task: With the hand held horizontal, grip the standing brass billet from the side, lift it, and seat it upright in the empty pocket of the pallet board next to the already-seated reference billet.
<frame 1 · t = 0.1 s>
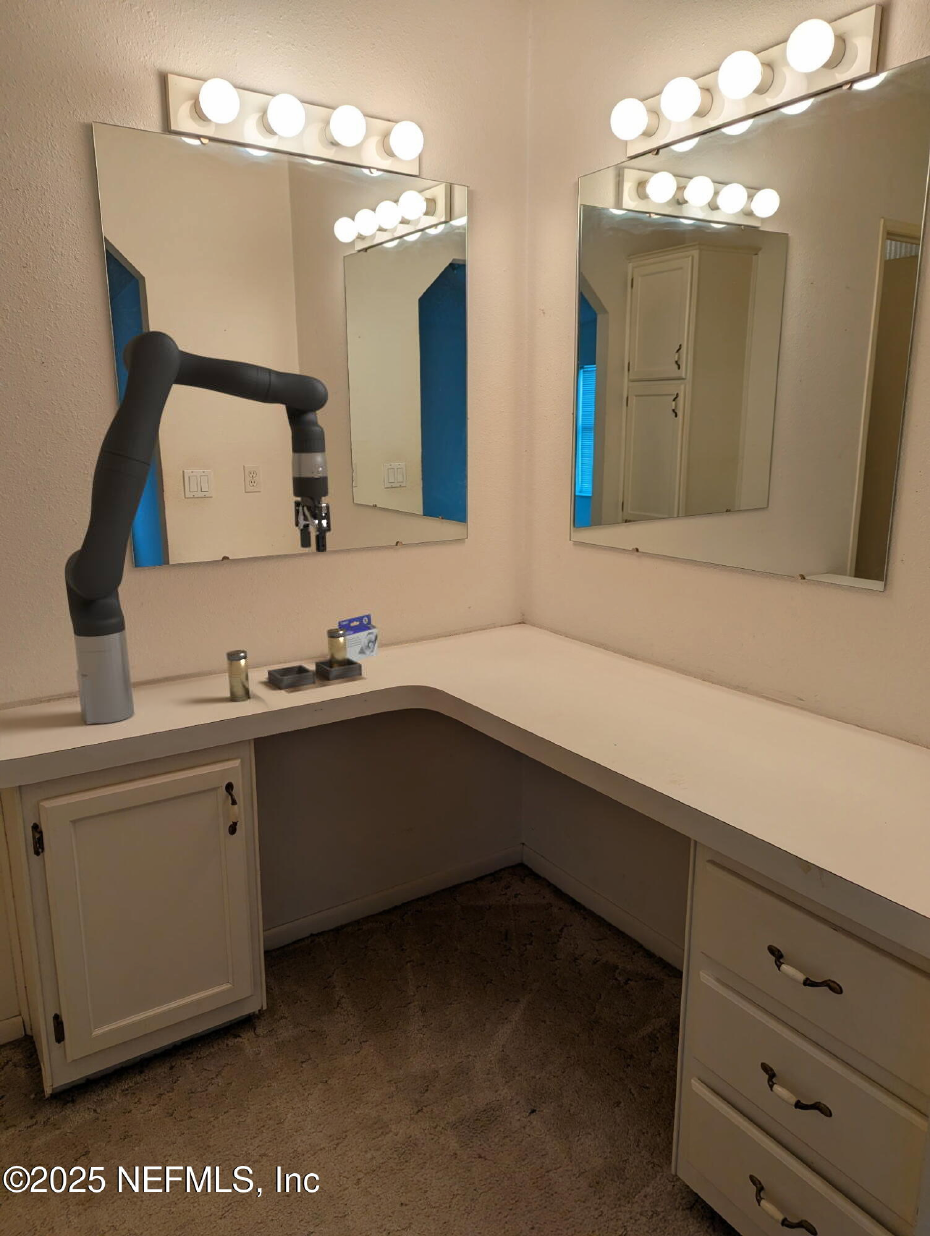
hand: (313, 549, 185), 29 cm above the vanity counter, tool pointing down, fingers open, 8 cm apart
ink box: (359, 666, 202), on the vanity counter
reference billet: (338, 674, 188), resting on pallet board
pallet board: (316, 684, 186), on the vanity counter
billet: (240, 698, 177), on the vanity counter
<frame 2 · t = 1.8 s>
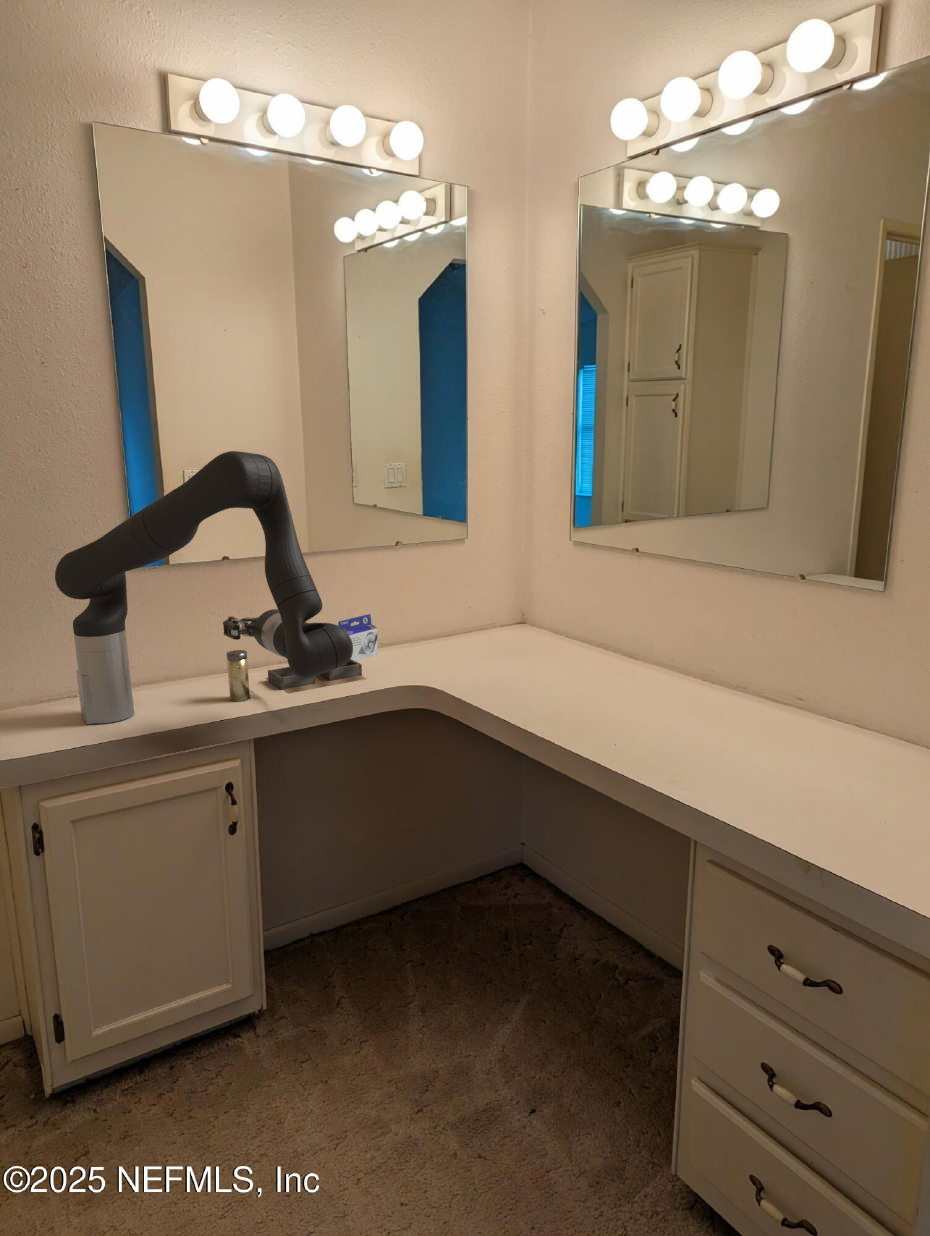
hand: (251, 618, 164), 19 cm above the vanity counter, tool horizontal, fingers open, 8 cm apart
nothing on the vanity counter moved.
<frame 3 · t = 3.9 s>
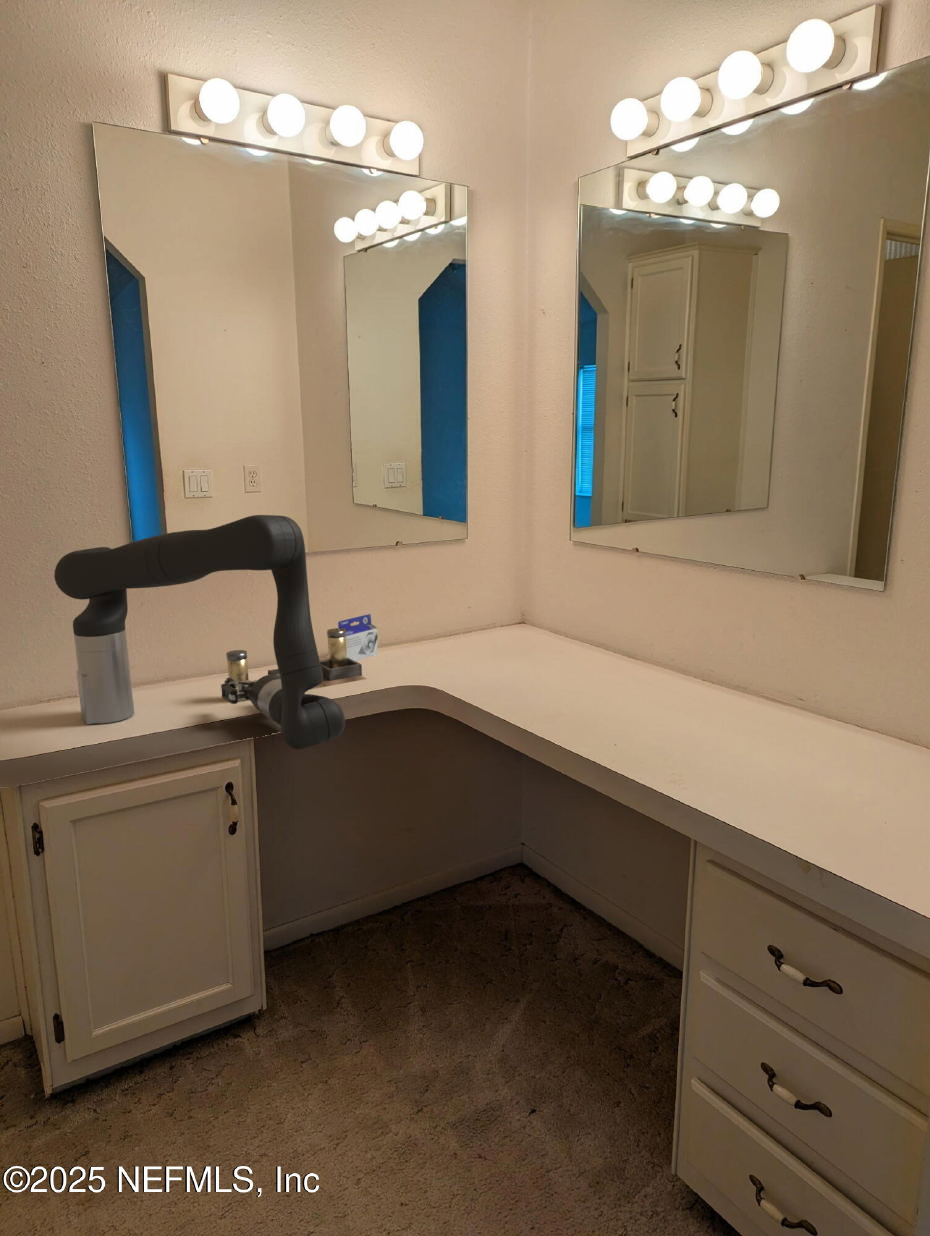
hand: (249, 679, 170), 6 cm above the vanity counter, tool horizontal, fingers open, 8 cm apart
nothing on the vanity counter moved.
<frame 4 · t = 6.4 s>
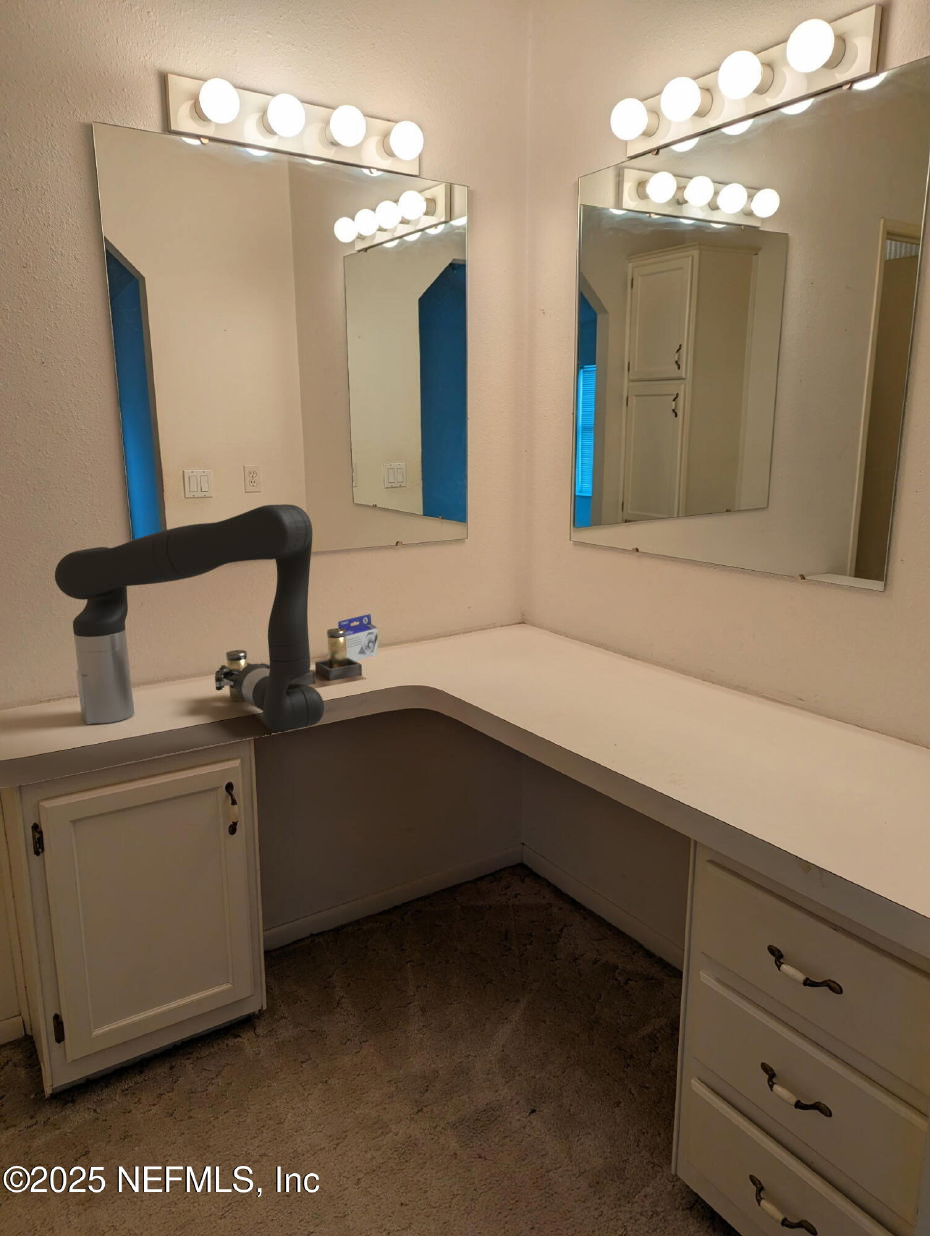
hand: (233, 668, 178), 6 cm above the vanity counter, tool horizontal, fingers closed on billet, 4 cm apart
billet: (240, 698, 177), on the vanity counter, touching gripper
everything else where it was.
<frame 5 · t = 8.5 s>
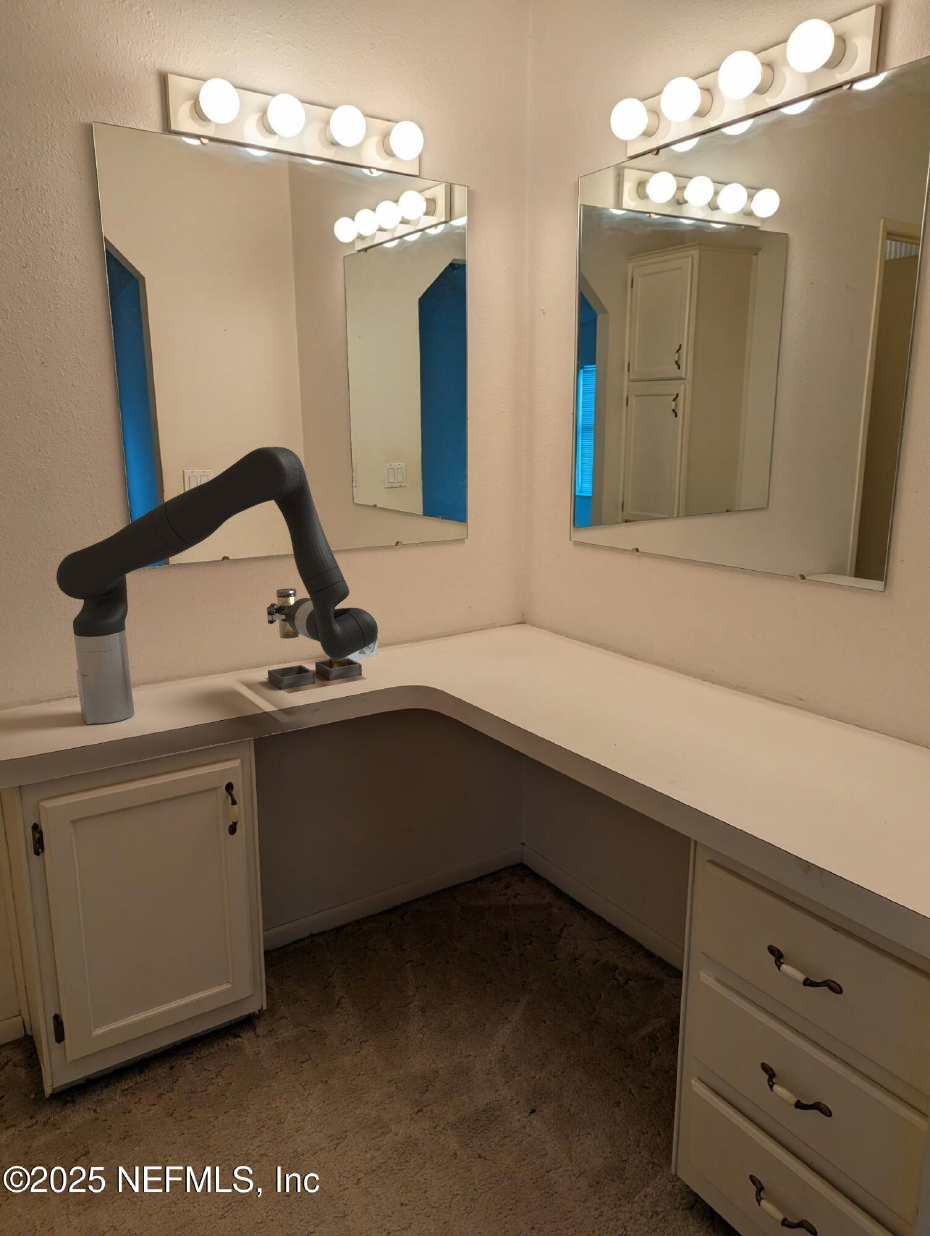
hand: (282, 606, 181), 18 cm above the vanity counter, tool horizontal, fingers closed on billet, 4 cm apart
billet: (289, 636, 180), point 12 cm above the vanity counter, touching gripper
everything else where it was.
when the fingers open (9 cm above the vanity counter, at t = 10.9 s): billet drops 2 cm, resting on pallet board.
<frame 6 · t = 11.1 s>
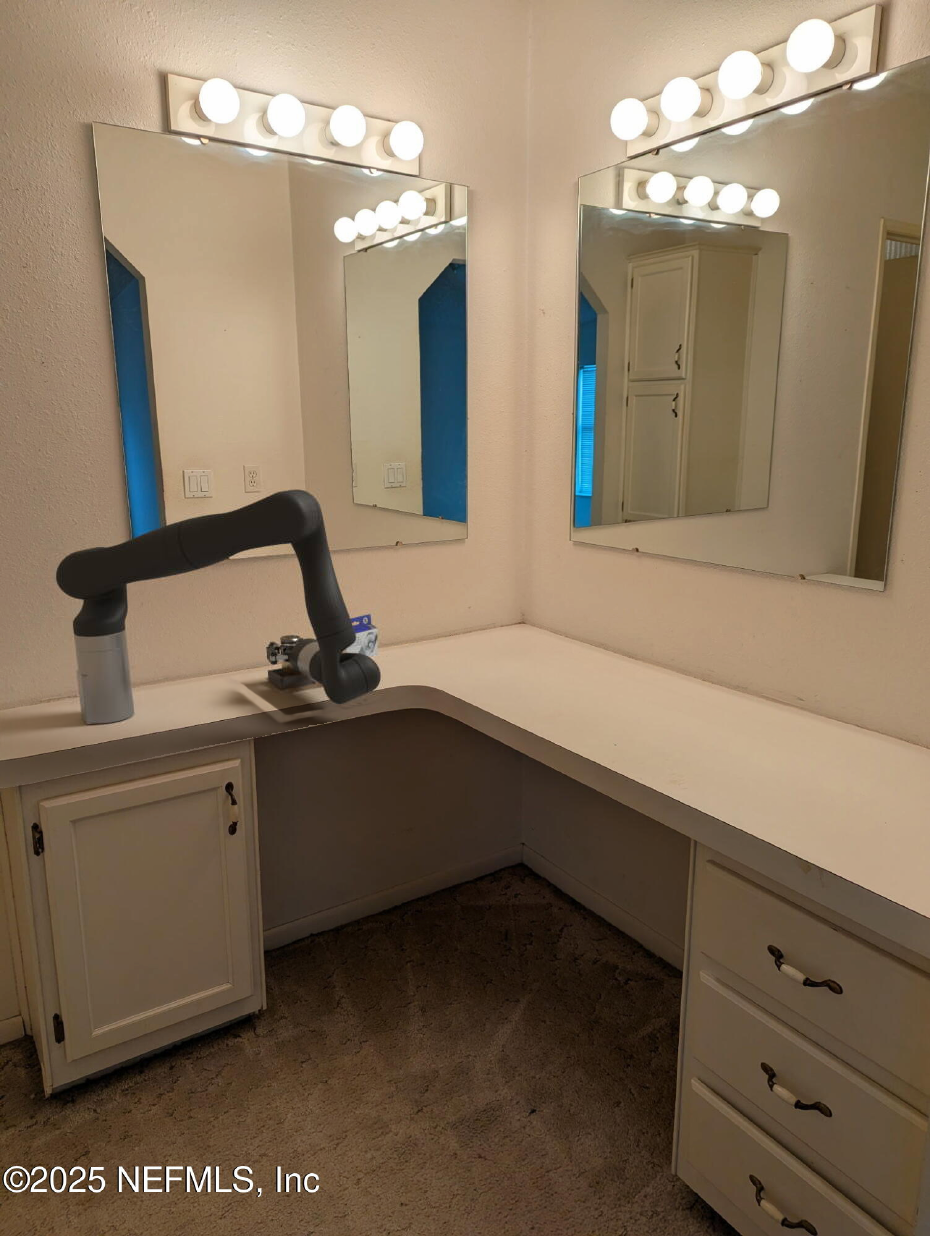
hand: (285, 644, 183), 9 cm above the vanity counter, tool horizontal, fingers open, 5 cm apart
billet: (292, 682, 183), point 2 cm above the vanity counter, touching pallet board
everything else where it was.
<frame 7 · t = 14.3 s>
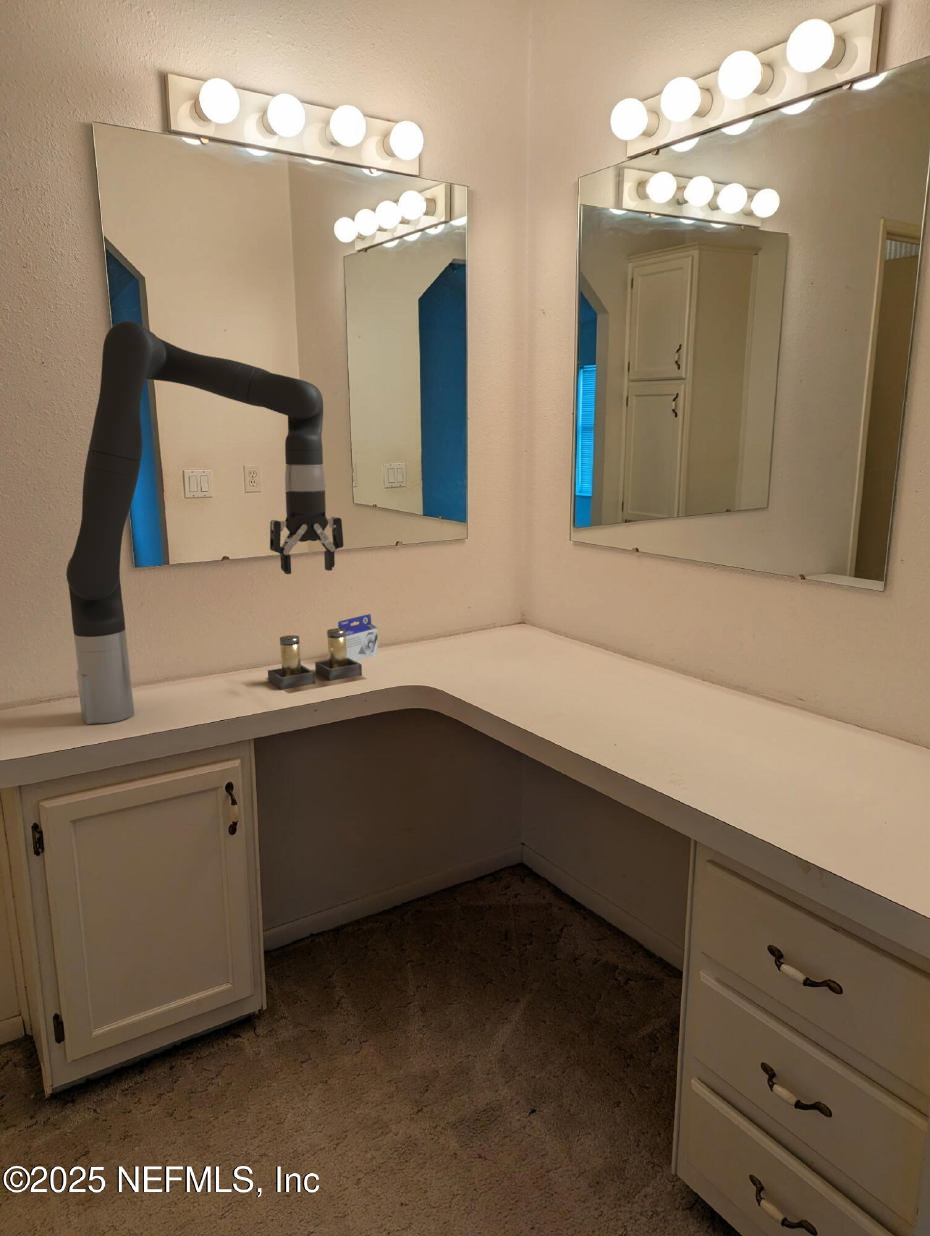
hand: (308, 571, 166), 27 cm above the vanity counter, tool pointing down, fingers open, 8 cm apart
nothing on the vanity counter moved.
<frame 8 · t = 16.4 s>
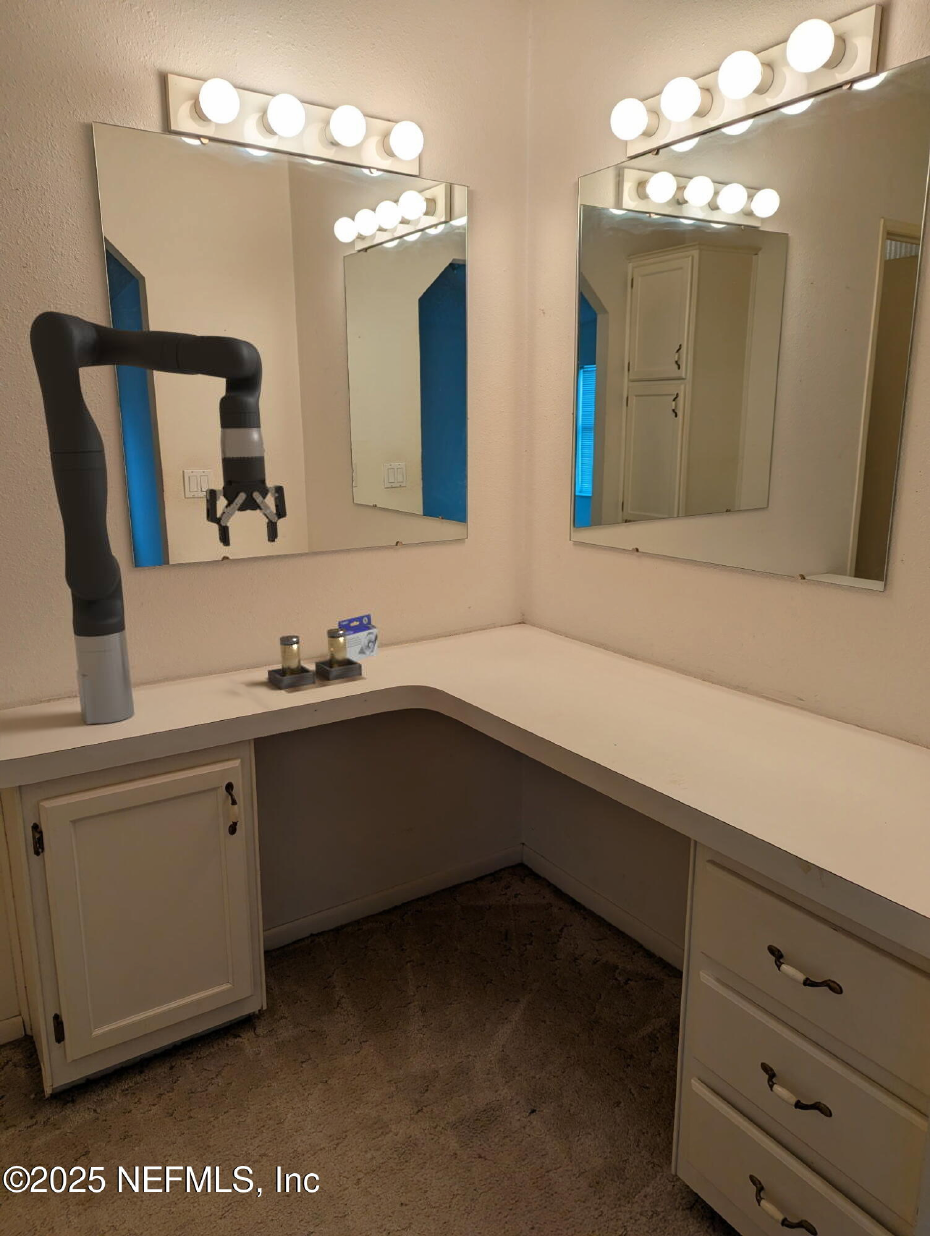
hand: (249, 544, 156), 34 cm above the vanity counter, tool pointing down, fingers open, 8 cm apart
nothing on the vanity counter moved.
at the end: billet 0.1 cm from the target spot on the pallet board, point 1.5 cm above the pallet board's base; billet tilted 0°; the gripper is holding nothing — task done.
